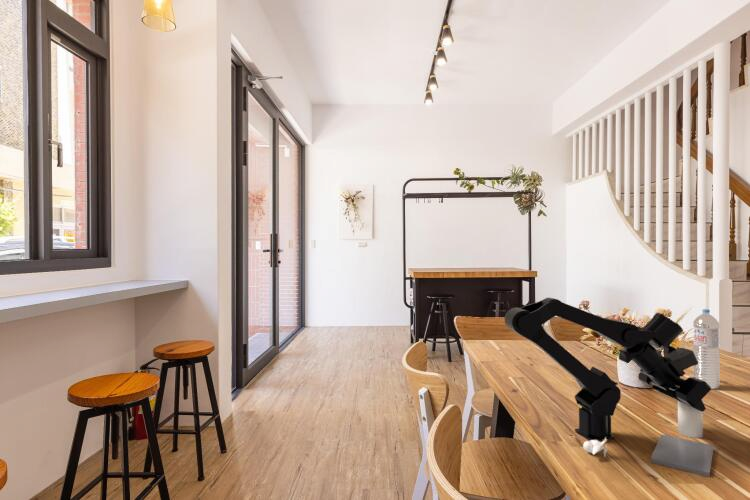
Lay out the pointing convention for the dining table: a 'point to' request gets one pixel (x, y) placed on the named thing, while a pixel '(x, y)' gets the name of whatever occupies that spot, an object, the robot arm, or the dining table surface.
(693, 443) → the slate board
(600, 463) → the dining table surface
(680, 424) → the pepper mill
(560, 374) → the dining table surface
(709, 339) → the water bottle
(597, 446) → the toy bird
